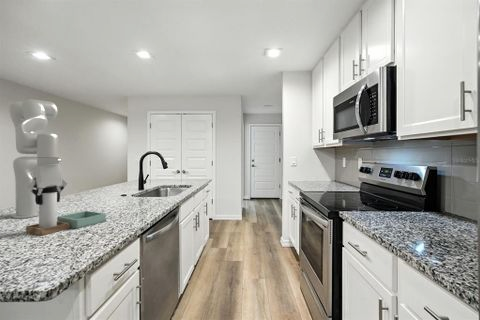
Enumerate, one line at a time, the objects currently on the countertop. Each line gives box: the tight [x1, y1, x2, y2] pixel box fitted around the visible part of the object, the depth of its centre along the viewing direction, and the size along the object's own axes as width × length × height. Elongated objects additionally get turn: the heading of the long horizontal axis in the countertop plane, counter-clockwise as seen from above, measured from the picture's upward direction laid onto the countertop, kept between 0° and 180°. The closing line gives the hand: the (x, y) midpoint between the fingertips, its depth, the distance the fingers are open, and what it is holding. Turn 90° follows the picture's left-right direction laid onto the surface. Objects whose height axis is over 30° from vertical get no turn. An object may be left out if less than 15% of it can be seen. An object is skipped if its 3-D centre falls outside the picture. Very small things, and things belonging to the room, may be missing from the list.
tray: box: [57, 210, 107, 230], centre depth 126 cm, size 14×14×4 cm
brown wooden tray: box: [25, 221, 70, 236], centre depth 114 cm, size 11×11×2 cm
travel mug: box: [38, 185, 58, 229], centre depth 114 cm, size 6×7×20 cm
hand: (48, 202), depth 114 cm, fingers closed on travel mug, 6 cm apart
